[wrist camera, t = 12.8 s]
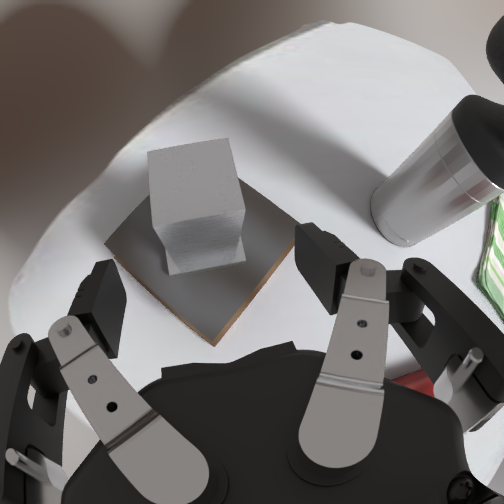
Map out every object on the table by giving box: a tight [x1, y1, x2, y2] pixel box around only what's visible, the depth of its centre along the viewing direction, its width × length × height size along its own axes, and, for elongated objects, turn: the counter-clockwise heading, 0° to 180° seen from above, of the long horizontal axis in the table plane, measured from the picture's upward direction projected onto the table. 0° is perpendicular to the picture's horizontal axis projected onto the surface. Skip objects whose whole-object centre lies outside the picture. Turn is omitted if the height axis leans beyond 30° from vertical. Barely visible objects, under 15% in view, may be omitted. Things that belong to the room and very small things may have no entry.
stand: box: [104, 178, 300, 347], centre depth 26 cm, size 14×14×6 cm
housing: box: [147, 138, 246, 277], centre depth 19 cm, size 6×7×9 cm
